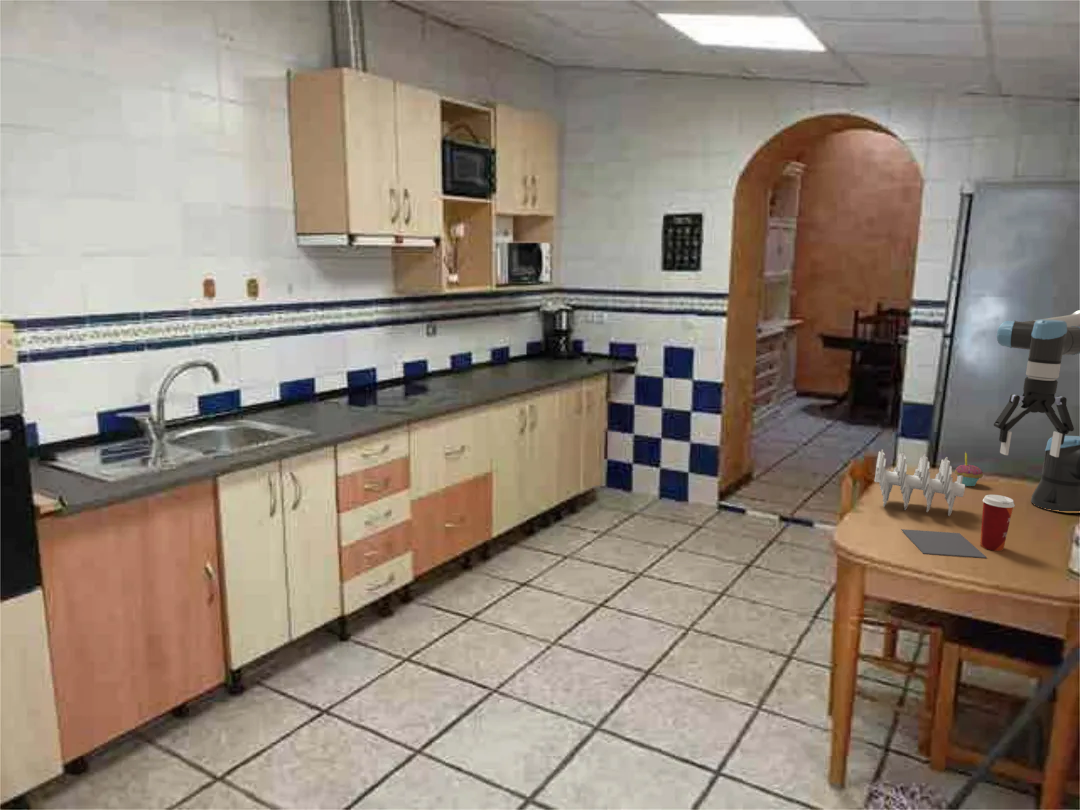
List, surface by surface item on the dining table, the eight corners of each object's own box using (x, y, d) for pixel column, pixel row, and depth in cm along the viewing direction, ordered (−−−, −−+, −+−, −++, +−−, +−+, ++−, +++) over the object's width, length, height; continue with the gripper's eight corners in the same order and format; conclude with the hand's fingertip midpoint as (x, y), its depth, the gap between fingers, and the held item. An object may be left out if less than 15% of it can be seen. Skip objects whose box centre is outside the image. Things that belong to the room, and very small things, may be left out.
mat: (959, 534, 228) (959, 533, 228) (986, 558, 211) (986, 557, 211) (900, 530, 230) (901, 529, 230) (923, 553, 212) (923, 552, 212)
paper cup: (1013, 552, 215) (1021, 503, 212) (984, 551, 215) (992, 502, 212) (997, 542, 223) (1005, 494, 220) (970, 541, 223) (977, 493, 220)
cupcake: (958, 487, 274) (962, 453, 272) (949, 480, 282) (954, 447, 280) (984, 489, 273) (990, 455, 270) (975, 482, 281) (980, 449, 279)
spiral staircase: (957, 532, 242) (868, 515, 251) (957, 493, 255) (873, 478, 264) (970, 487, 231) (878, 471, 240) (970, 449, 244) (882, 435, 253)
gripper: (1079, 377, 217) (1066, 453, 221) (987, 373, 217) (975, 449, 221) (1097, 382, 210) (1084, 460, 214) (1002, 378, 210) (990, 456, 214)
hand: (1028, 455), depth 217 cm, fingers open, 13 cm apart
